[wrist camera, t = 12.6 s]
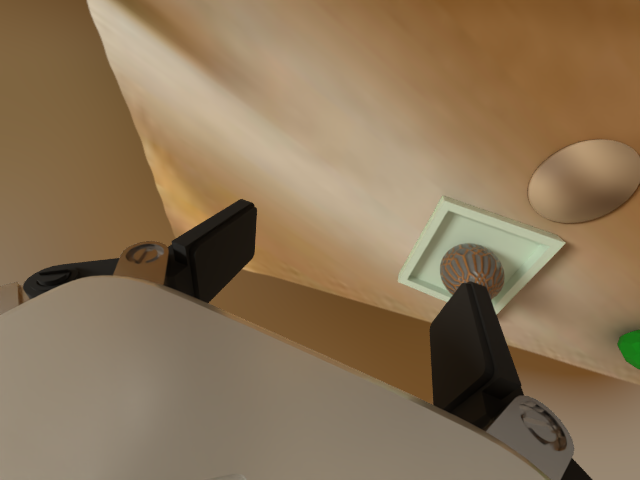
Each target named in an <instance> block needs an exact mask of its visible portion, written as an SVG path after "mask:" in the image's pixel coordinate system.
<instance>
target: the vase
mask: <svg viewBox="0 0 640 480" xmlns="http://www.w3.org/2000/svg"><path fill="white" fill-rule="evenodd" d="M440 276H441V280H442V282H443V284H444V286H445V287H446V289H447V290H448V291H449V292H450V293H451V294H452V295H453V294H454V293H455V291H456V290H457V289H458V287H459V286H460V285H461V284H462V283H467V282H469V281H471V282H474V283H477V284H480V285H483V286H485V287H486V288H487V290H488V293H489V296H490V298H491V300H492V299H493V298H494V297H496V296H497V295H498V294H499V292H500V291H501V290H502V287H503V285H504V279H505V274H504V269H503V266H502V264H501V262H500V260H499V259H498V257H497V256H496V255H495V254H494V253H493V252H492V251H490V250H489V249H487V248H486V247H484V246H481V245H478V244H473V243H464V244H459V245H457V246H454V247H452V248H451V249H450V250H448V251H447V252H446V254H445V255H444V256H443V258H442V260H441V264H440Z"/></svg>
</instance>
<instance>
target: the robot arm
mask: <svg viewBox="0 0 640 480" xmlns="http://www.w3.org/2000/svg"><path fill="white" fill-rule="evenodd" d="M256 218H257V208H256V207H254V204H253V203H251V202H249V201H246V200H243V199H240V200H238V201H237V202H235V203H234V204H232V205H230V206H229V207H227V208H225V209H224V210H222V211H220V212H219V213H217V214H215V215H214V216H212V217H211V218H209V219H207V220H206V221H204V222H202V223H201V224H199V225H197V226H196V227H194V228H193V229H191V230H189V231H188V232H186V233H184V234H183V235H181V236H179V237H178V238H176V239H174V240H173V241H172V245H170V246H169V247H167V246H166V245H165V244H162V243H160V242H155V241H147V242H140V243H137V244H134V245H132V246H129V247H128V248H126V249H125V250H124V251H123V252H122V254H121V255H120V258H117V259H108V260H98V261H89V262H82V263H71V264H63V265H58V266H52V267H49V268H46V269H43V270H41V271H39V272H37V273H35V274H34V275H32V276H31V277H29V278H28V279H27V280H26V281H25V283H24V284H23V285H19V283H18V282H14V283H10V284H6V285H2V286H0V480H592V479H591V478H590V477H589V476H588V475H587V473H586V472H585V471H584V470H583V469H582V468H581V467H580V466H579V465H578V464H577V463H576V462H575V461H574V460H573V459H572V456H573V453H574V445H573V441H572V438H571V436H570V434H569V432H568V430H567V429H566V427H565V426H564V425H563V423H562V422H561V420H560V419H559V418H558V417H557V416H556V415H555V414H554V413H553V412H552V411H551V410H550V409H549V408H548V407H546V406H545V405H544V404H543V403H541V402H539V401H538V400H536V399H534V398H531V397H528V396H524V394H523V391H522V389H521V383H520V380H519V377H518V374H517V372H516V369H515V366H514V363H513V360H512V357H511V355H510V352H509V349H508V346H507V343H506V341H505V338H504V335H503V332H502V329H501V326H500V324H499V321H498V318H497V315H496V312H495V310H494V307H493V304H492V301H491V298H490V296H489V293H488V290H487V288H486V287H485V286H483V285H480V284H477V283H474V282H471V281H469V282H467V283H462V284H461V285H460V286H459V287H458V289H457V290H456V291H455V293H454V294H453V295H452V297H451V298H450V299H449V301H448V302H447V303H446V305H445V306H444V307H443V309H442V310H441V311H440V313H439V314H438V315H437V317H436V318H435V319H434V321H433V322H432V324H431V326H430V346H431V366H432V385H433V404H434V405H432V404H430V403H427V402H425V401H423V400H421V399H419V398H417V397H415V396H413V395H411V394H408V393H406V392H404V391H402V390H400V389H398V388H395V387H393V386H391V385H389V384H387V383H384V382H382V381H380V380H378V379H376V378H373V377H371V376H369V375H367V374H364V373H362V372H360V371H358V370H356V369H354V368H351V367H349V366H347V365H345V364H343V363H340V362H338V361H336V360H334V359H332V358H329V357H327V356H325V355H322V354H320V353H318V352H316V351H314V350H312V349H309V348H307V347H305V346H303V345H300V344H298V343H296V342H294V341H292V340H289V339H287V338H285V337H282V336H280V335H278V334H276V333H274V332H271V331H269V330H267V329H265V328H262V327H260V326H258V325H256V324H253V323H251V322H249V321H247V320H244V319H242V318H240V317H238V316H235V315H233V314H231V313H228V312H226V311H224V310H222V309H219V308H217V307H215V306H213V305H210V304H208V303H209V301H211V300H212V299H213V298H214V297H215V296H216V295H217V294H218V293H219V292H220V291H221V290H222V288H224V287H225V286H226V284H228V283H229V282H230V281H231V279H232V278H233V277H234V276H235V275H236V274H237V273H238V272H239V271H240V270H241V269H242V268H243V267H244V266H245V265H246V264H247V263H248V262H249V261H250V260H251V259H252V258H253V256H254V252H255V236H256Z"/></svg>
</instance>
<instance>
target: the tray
mask: <svg viewBox="0 0 640 480" xmlns="http://www.w3.org/2000/svg"><path fill="white" fill-rule="evenodd" d="M464 243H473V244H478V245H481V246H484V247H486V248H487V249H489V250H490V251H492V252H493V253H494V254H495V255H496V256H497V257H498V259H499V260H500V262H501V264H502V266H503V269H504V274H505V279H504V285H503V287H502V290H501V291H500V292H499V294H498V295H497V296H496V297H494V298H493V299H492V300H491V301H492V304H493V307H494V310H495V312H496V315H497V314H498V313H499V312H500V311H501V310H502V308H503V307H504V306H505V305H506V304H507V303H508V302H509V301H510V300H511V299H512V298H513V297H514V296H515V295H516V294H517V293H518V292H519V291H520V290H521V289H522V288H523V287H524V286H525V285H526V284H527V283H528V282H529V281H530V280H531V278H532V277H533V276H534V275H535V274H536V273H537V272H538V271H539V270H540V269H541V268H542V267H543V266H544V265H545V264H546V263H547V262H548V261H549V260H550V259H551V258H552V257H553V256H554V255H555V254H556V253H557V252H558V251H559V250H560V249H561V247H562V246H563V245H564V244H565V242H564V241H563V240H562V239H561V238H560V237H559V236H558V235H555V234H553V233H550V232H547V231H544V230H541V229H538V228H535V227H532V226H529V225H527V224H524V223H521V222H518V221H515V220H512V219H509V218H506V217H503V216H501V215H498V214H495V213H492V212H489V211H486V210H483V209H480V208H477V207H475V206H472V205H469V204H466V203H463V202H460V201H457V200H454V199H451V198H449V197H446V196H442V198H441V199H440V201H439V203H438V205H437V207H436V208H435V210H434V212H433V214H432V216H431V217H430V219H429V221H428V223H427V224H426V226H425V228H424V230H423V232H422V233H421V235H420V237H419V239H418V241H417V242H416V244H415V246H414V248H413V250H412V251H411V253H410V255H409V257H408V259H407V260H406V262H405V264H404V266H403V267H402V269H401V271H400V273H399V277H398V282H400V283H402V284H404V285H407V286H409V287H412V288H414V289H417V290H419V291H421V292H424V293H426V294H429V295H431V296H433V297H436V298H438V299H441V300H443V301H445V302H448V301H449V299H450V298H451V297H452V294H451V293H450V292H449V291H448V290H447V289H446V287H445V286H444V284H443V282H442V280H441V276H440V264H441V260H442V258H443V256H444V255H445V254H446V252H447V251H448V250H450V249H451V248H452V247H454V246H457V245H459V244H464Z"/></svg>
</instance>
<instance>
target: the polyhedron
mask: <svg viewBox="0 0 640 480" xmlns="http://www.w3.org/2000/svg"><path fill="white" fill-rule="evenodd" d="M618 347H619V349H620V351H621V353H622V355H623V356H624V358H625V360H626V361H627V362H628V363H630V364H631V365H633V366H634V367H636V368H637V369H640V330H636V331H633V332H630V333H627V334H625V335H622V336H621V337H620V339H619V341H618Z"/></svg>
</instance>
